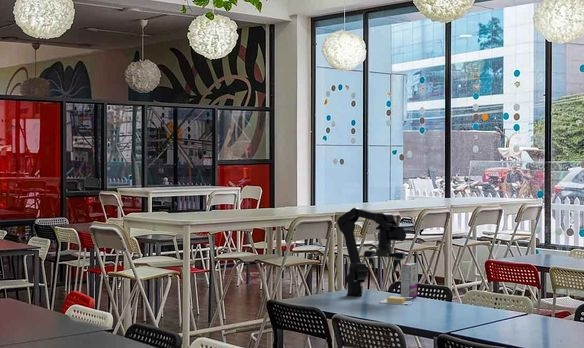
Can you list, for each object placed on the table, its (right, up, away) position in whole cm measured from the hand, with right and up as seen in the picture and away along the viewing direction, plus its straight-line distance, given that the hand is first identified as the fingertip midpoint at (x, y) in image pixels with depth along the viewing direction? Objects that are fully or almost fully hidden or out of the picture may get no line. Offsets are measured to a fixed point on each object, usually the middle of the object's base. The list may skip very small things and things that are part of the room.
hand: (383, 273), depth 407 cm
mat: (+5, -13, -8) cm, 16 cm away
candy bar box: (+13, -13, +11) cm, 22 cm away
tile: (+6, -11, -6) cm, 14 cm away
